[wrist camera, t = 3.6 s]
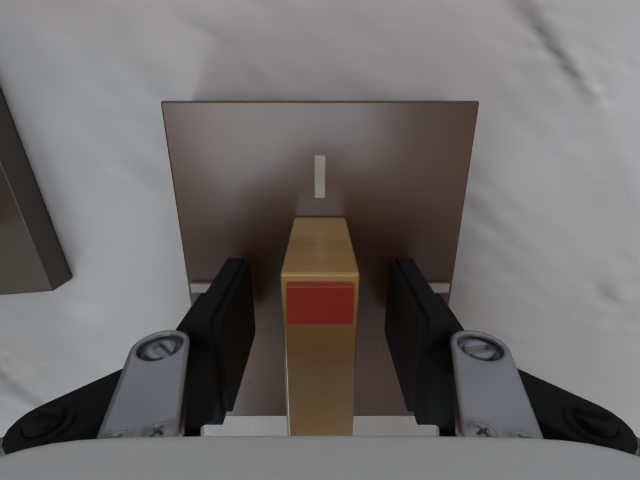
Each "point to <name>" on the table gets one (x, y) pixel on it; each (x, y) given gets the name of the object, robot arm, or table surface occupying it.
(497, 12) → the table surface
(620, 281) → the table surface
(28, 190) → the latch bracket
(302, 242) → the thumbturn
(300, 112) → the plate
